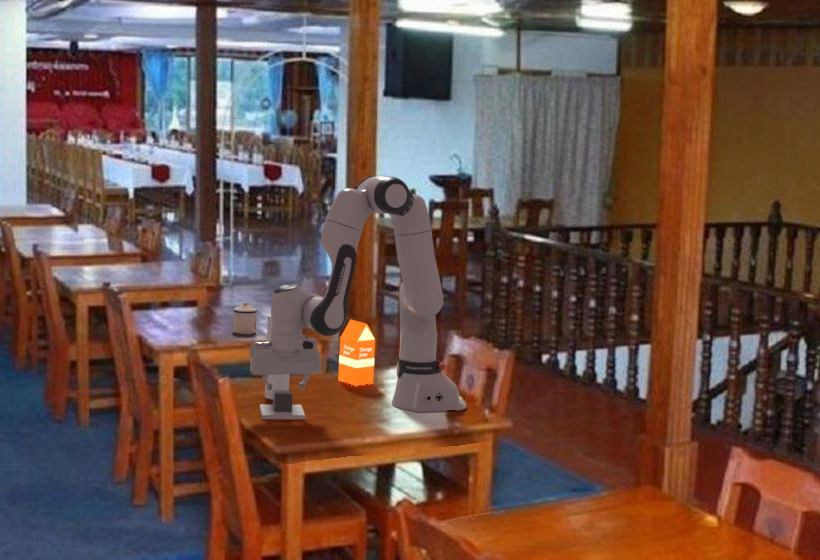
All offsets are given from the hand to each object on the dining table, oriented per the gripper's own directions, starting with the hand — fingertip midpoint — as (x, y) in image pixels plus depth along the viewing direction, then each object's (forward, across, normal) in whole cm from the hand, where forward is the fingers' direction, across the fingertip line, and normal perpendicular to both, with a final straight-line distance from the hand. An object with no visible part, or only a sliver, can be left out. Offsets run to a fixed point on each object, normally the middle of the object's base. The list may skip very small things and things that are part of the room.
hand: (285, 389), depth 344 cm
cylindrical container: (+8, -1, +20) cm, 22 cm away
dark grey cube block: (+6, -1, 0) cm, 6 cm away
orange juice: (+8, +26, +40) cm, 49 cm away
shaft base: (+7, -1, 0) cm, 7 cm away
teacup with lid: (+8, -5, +123) cm, 124 cm away
